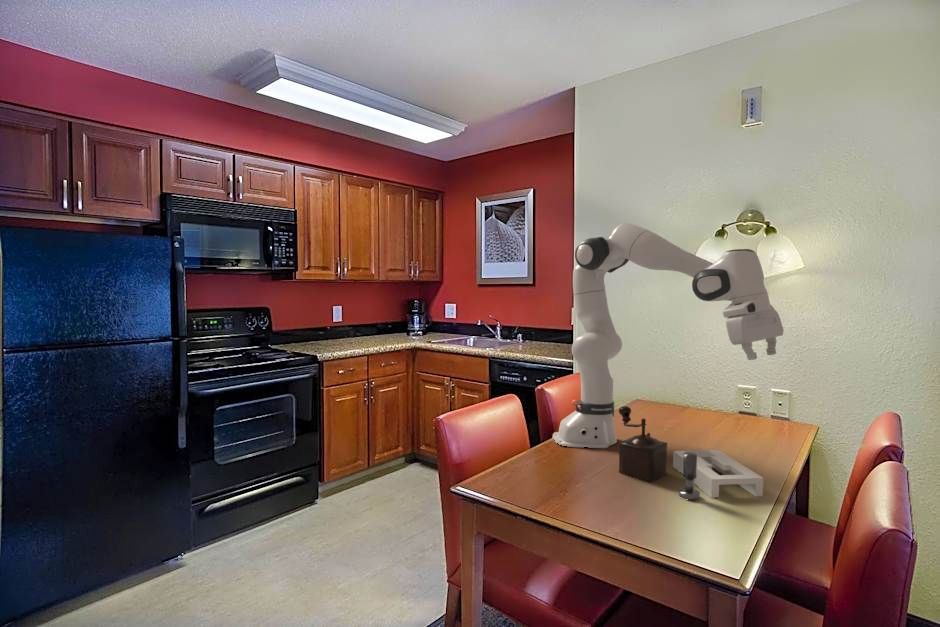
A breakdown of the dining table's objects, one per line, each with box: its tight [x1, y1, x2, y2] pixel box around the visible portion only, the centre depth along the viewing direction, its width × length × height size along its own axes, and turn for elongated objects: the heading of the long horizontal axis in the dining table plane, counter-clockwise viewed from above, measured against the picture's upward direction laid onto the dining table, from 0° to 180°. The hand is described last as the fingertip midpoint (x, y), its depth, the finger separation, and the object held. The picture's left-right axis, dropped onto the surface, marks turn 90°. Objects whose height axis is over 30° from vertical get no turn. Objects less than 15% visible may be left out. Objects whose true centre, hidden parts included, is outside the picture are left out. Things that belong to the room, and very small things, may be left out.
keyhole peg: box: [678, 452, 701, 501], centre depth 134 cm, size 5×5×12 cm
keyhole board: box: [672, 449, 764, 499], centre depth 145 cm, size 14×22×5 cm, turn 3°
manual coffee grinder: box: [618, 405, 668, 483], centre depth 152 cm, size 16×11×18 cm
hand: (762, 357), depth 136 cm, fingers open, 8 cm apart
